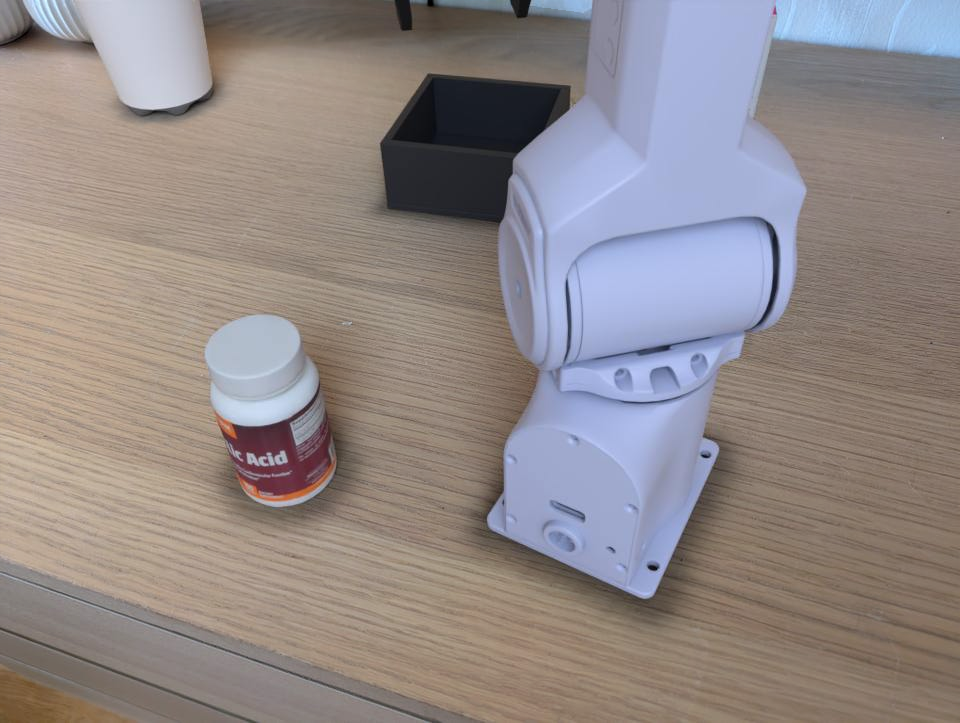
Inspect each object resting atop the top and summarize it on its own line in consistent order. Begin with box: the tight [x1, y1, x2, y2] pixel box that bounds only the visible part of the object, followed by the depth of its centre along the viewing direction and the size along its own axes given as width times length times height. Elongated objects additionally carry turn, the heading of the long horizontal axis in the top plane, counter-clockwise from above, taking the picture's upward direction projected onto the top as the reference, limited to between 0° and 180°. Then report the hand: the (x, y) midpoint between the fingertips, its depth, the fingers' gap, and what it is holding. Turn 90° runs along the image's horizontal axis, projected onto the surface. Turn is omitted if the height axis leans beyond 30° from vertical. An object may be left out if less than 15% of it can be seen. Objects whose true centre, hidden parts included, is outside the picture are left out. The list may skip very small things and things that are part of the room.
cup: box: [73, 0, 213, 117], centre depth 65 cm, size 10×10×13 cm
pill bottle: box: [204, 313, 338, 508], centre depth 37 cm, size 5×5×8 cm
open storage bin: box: [379, 72, 572, 223], centre depth 58 cm, size 11×11×5 cm
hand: (462, 16), depth 54 cm, fingers open, 7 cm apart
